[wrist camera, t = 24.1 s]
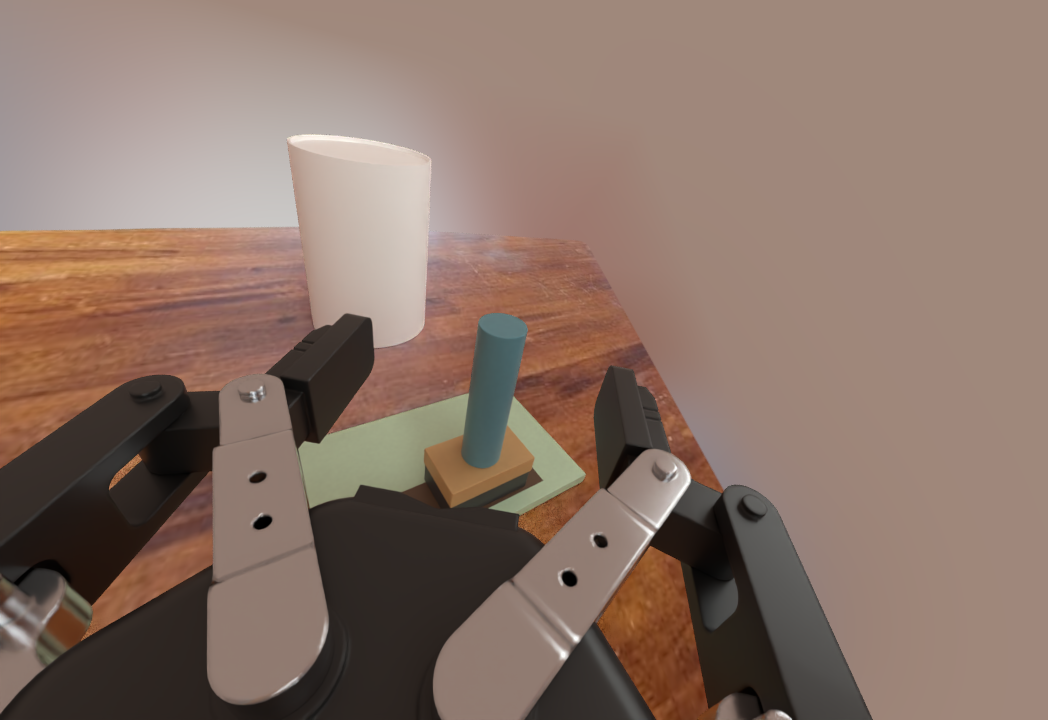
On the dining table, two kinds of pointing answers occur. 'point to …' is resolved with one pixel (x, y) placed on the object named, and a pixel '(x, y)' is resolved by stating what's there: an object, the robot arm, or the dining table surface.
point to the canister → (363, 231)
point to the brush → (484, 425)
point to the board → (398, 457)
